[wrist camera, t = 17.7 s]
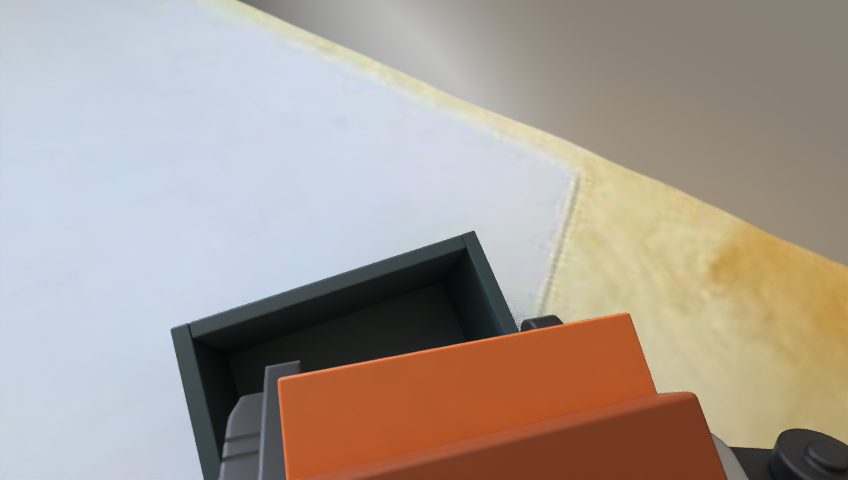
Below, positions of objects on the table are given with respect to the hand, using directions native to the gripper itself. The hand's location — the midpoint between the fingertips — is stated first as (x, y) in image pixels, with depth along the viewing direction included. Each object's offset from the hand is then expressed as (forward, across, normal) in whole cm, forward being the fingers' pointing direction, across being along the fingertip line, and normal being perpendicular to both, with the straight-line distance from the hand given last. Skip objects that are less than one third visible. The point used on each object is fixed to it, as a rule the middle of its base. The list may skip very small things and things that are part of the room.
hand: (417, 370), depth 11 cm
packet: (+3, 0, +6) cm, 7 cm away
